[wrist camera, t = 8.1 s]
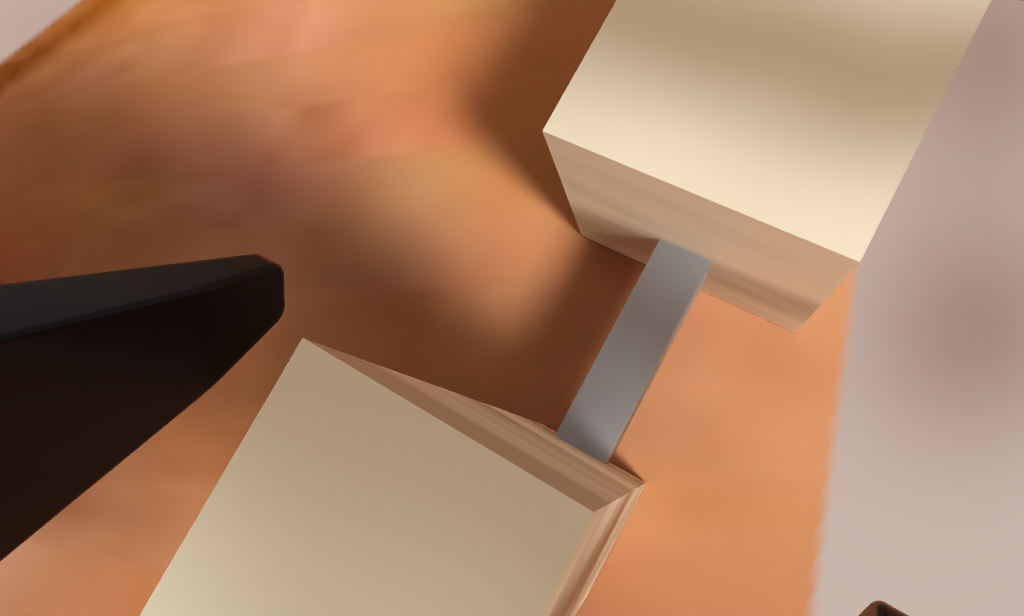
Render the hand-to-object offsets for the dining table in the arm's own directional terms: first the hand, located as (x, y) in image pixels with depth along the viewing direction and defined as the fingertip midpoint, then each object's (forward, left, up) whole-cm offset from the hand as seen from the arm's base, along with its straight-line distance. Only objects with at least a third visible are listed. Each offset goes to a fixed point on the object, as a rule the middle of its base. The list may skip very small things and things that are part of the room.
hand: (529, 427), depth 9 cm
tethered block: (+4, -1, -8) cm, 9 cm away
